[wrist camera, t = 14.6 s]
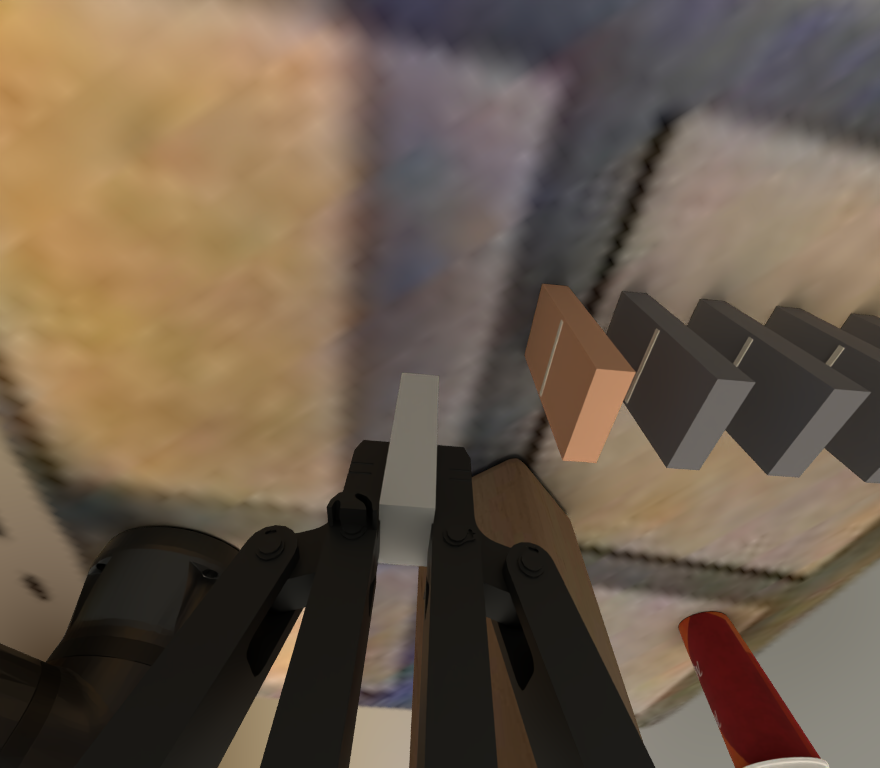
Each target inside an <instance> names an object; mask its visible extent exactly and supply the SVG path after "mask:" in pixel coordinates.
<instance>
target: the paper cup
mask: <svg viewBox="0 0 880 768" xmlns="http://www.w3.org/2000/svg"><path fill="white" fill-rule="evenodd" d="M679 631H680V634H681V636H682V639H683V641H684V644H685V647H686V649H687V652H688V654H689V656H690V659H691V661H692V664H693V666H694V669H695V671H696V674H697V676H698V679H699V681H700V683H701V686H702V688H703V691H704V693H705V696H706V698H707V700H708V703H709V705H710V708H711V710H712V712H713V715H714V717H715V720H716V722H717V724H718V727H719V729H720V732H721V734H722V737H723V739H724V742H725V744H726V746H727V749H728V751H729V754H730V756H731V758H732V761H733V763H734V766H735V768H829V764H828V762H827V761H825V760H823V759H821V758H820V757H819V755H818V754H817V752H816V751H815V749H814V747H813V746H812V744H811V743H810V741H809V740H808V738H807V737H806V735H805V734H804V732H803V730H802V729H801V727H800V726H799V724H798V723H797V722H796V720H795V718H794V717H793V715H792V714H791V712H790V710H789V709H788V707H787V706H786V704H785V703H784V701H783V700H782V698H781V697H780V695H779V694H778V692H777V690H776V689H775V688H774V686H773V684H772V683H771V681H770V680H769V678H768V677H767V675H766V674H765V672H764V671H763V669H762V668H761V667H760V664H759V663H758V661H757V660H756V658H755V657H754V655H753V654H752V652H751V651H750V649H749V648H748V646H747V645H746V643H745V642H744V640H743V639H742V637H741V636H740V634H739V633H738V631H737V630H736V628H735V627H734V625H733V624H732V622H731V621H730V619H729V618H728V617H727V616H726V615H725V614H723V613H720V612H702V613H698V614H694V615H692V616H689V617H687V618H686V619H684V620H683V621H682V622H681V623H680V624H679Z"/></svg>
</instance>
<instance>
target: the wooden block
mask: <svg viewBox="0 0 880 768" xmlns="http://www.w3.org/2000/svg"><path fill="white" fill-rule="evenodd" d="M472 488H473V502H474V515H475V521H476V524H477V526H478V528H479V530H480V531H481V532H482V533H483V534H484V535H485V536H486V537H488V538H489V539H491V540H493V541H495V542H497V543H499V544H502V545H505V546H507V547H510V548H511V547H512V546H513V545H515V544H518V543H520V542H530V543H533V544H536V545H538V546H540V547H541V548H543V549H544V550H545V551H547V552H548V554H549V555H550V556H551V558H552V559H553V561H554V563H555V565H556V567H557V569H558V571H559V573H560V575H561V577H562V579H563V581H564V583H565V585H566V587H567V589H568V591H569V593H570V595H571V597H572V599H573V601H574V603H575V605H576V607H577V609H578V611H579V613H580V616H581V618H582V620H583V622H584V624H585V626H586V628H587V630H588V632H589V634H590V636H591V638H592V640H593V642H594V644H595V646H596V648H597V650H598V652H599V654H600V656H601V658H602V660H603V662H604V664H605V666H606V668H607V670H608V672H609V674H610V676H611V678H612V681H613V683H614V685H615V687H616V689H617V691H618V693H619V695H620V697H621V699H622V701H623V703H624V705H625V707H626V709H627V711H628V713H629V715H630V717H631V719H632V721H633V723H634V725H635V727H636V729H637V731H638V733H639V735H640V731H639V728H638V725H637V722H636V719H635V716H634V713H633V710H632V707H631V704H630V701H629V698H628V695H627V692H626V689H625V686H624V683H623V680H622V677H621V674H620V670H619V667H618V664H617V661H616V658H615V655H614V652H613V649H612V646H611V643H610V640H609V637H608V634H607V631H606V628H605V625H604V622H603V619H602V616H601V613H600V610H599V607H598V603H597V600H596V597H595V594H594V591H593V588H592V585H591V582H590V579H589V576H588V573H587V570H586V567H585V564H584V561H583V558H582V555H581V552H580V549H579V546H578V543H577V540H576V537H575V533H574V530H573V527H572V524H571V521H570V519H569V518H568V516H567V515H566V514H565V513H564V512H563V510H562V509H561V508H560V507H559V505H558V504H557V503H556V502H555V500H554V499H553V498H552V497H551V496H550V494H549V493H548V492H547V491H546V489H545V488H544V487H543V486H542V485H541V483H540V482H539V481H538V480H537V478H536V477H535V476H534V475H533V473H532V472H531V471H530V470H529V469H528V467H527V466H526V465H525V464H524V463H523V462H522V461H521V460H519V459H517V458H515V459H509V460H506V461H504V462H502V463H500V464H498V465H496V466H494V467H492V468H490V469H488V470H486V471H484V472H482V473H480V474H478V475H475V476H473V477H472ZM426 577H427V567H424V566H419V575H418V596H417V616H416V637H415V658H414V679H413V700H412V722H411V742H410V763H409V768H417V750H418V728H419V707H420V686H421V664H422V643H423V622H424V601H425V600H424V599H423V598H424V591H425V584H426ZM486 623H487V635H488V648H489V661H490V673H491V686H492V699H493V712H494V724H495V737H496V750H497V762H498V768H537V765H536V762H535V759H534V755H533V752H532V749H531V746H530V743H529V740H528V736H527V733H526V730H525V727H524V724H523V720H522V717H521V714H520V711H519V708H518V704H517V701H516V698H515V695H514V692H513V688H512V685H511V682H510V679H509V676H508V673H507V669H506V666H505V663H504V660H503V657H502V653H501V650H500V647H499V644H498V641H497V637H496V634H495V631H494V628H493V625H492V622H491V619H490V618H488V617H486ZM640 737H641V735H640ZM641 739H642V737H641ZM642 741H643V740H642Z"/></svg>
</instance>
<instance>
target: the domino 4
mask: <svg viewBox="0 0 880 768" xmlns="http://www.w3.org/2000/svg"><path fill="white" fill-rule="evenodd" d="M841 330H843V331H845V332H847V333H849V334H851V335H853V336H855V337H857V338H859V339H861V340H863V341H865V342H867V343H869V344H871V345H873V346H875V347H877V348H879V349H880V318H878V317H876V316H870V315H860V314H851V315H850V316H849V318H848V319H847V320H846V322H845V323H844V325H843V326H842V327H841Z"/></svg>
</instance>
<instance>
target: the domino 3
mask: <svg viewBox="0 0 880 768" xmlns="http://www.w3.org/2000/svg"><path fill="white" fill-rule="evenodd" d="M765 327H767V328H769V329H770V330H772V331H773V332H775V333H777V334H778V335H780V336H782V337H783V338H785V339H786V340H788V341H790V342H791V343H793V344H794V345H796V346H798V347H799V348H801V349H802V350H804V351H806V352H807V353H809V354H811V355H812V356H814V357H815V358H817V359H819V360H820V361H822V362H823V363H825V364H827V365H828V366H830V367H831V368H833V369H835V370H836V371H838V372H840V373H841V374H843V375H844V376H846V377H848V378H849V379H851V380H852V381H854V382H856V383H857V384H859V385H860V386H862V387H864V388H865V389H867V390H869V391H870V392H871V393H870V394H869V396H868V397H867V398H866V399H865V400H864V401H863V403H862V404H861V405H860V406H859V407H858V408H857V410H856V411H855V412H854V413H853V414H852V416H851V417H850V418H849V419H848V420H847V421H846V423H845V424H844V425H843V426H842V427H841V429H840V430H839V431H838V432H837V433H836V434H835V436H834V437H833V438H832V439H831V440H830V442H829V443H828V444H827V445H826V446H825V447H824V448H825V449H826V450H827V451H829V452H830V453H831V454H832V455H833V456H834V457H836V458H837V459H838V460H839V461H840V462H842V463H843V464H844V465H845V466H846V467H848V468H849V469H850V470H851V471H852V472H854V473H855V474H856V475H857V476H858V477H859V478H861V479H862V480H863V481H864V482H867V483H880V349H879V348H877V347H875V346H873V345H871V344H869V343H867V342H865V341H863V340H861V339H859V338H857V337H855V336H853V335H851V334H849V333H847V332H845V331H843V330H841V329H839V328H837V327H836V326H834V325H832V324H830V323H828V322H826V321H824V320H822V319H820V318H818V317H816V316H814V315H812V314H810V313H808V312H806V311H804V310H802V309H798V308H788V307H778V306H777V307H776V308H775V310H774V312H773V313H772V315H771V316H770V318H769V320H768V321H767V323H766V325H765Z"/></svg>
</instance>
